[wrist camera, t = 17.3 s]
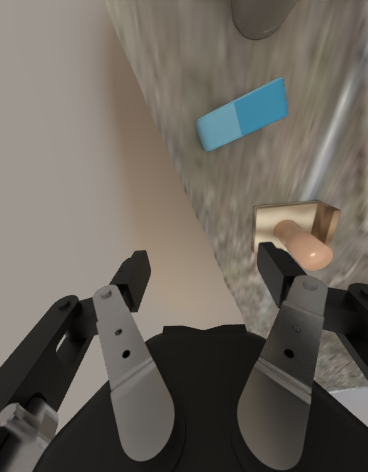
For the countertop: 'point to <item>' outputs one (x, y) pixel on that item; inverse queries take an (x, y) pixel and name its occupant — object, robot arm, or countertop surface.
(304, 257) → the peach dome-topped cylinder
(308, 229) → the wooden l-shaped stand
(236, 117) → the data package
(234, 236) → the countertop surface
